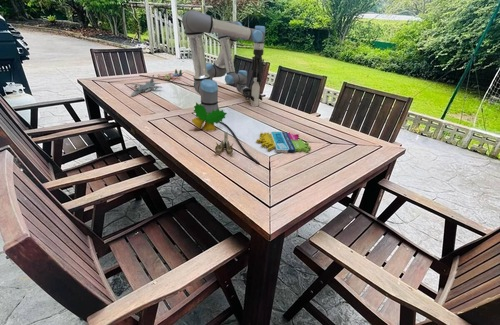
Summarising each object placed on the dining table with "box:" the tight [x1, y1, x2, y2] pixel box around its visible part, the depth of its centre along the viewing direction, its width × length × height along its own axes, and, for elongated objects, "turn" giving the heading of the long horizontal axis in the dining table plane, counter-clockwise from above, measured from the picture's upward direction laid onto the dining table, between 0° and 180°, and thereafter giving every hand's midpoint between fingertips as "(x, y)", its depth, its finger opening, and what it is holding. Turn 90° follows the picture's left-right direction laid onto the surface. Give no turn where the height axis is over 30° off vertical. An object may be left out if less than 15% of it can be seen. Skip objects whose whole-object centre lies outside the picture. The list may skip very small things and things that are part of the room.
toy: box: [156, 69, 183, 81], centre depth 280 cm, size 28×7×30 cm
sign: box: [256, 131, 312, 154], centre depth 152 cm, size 26×2×30 cm
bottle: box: [250, 81, 261, 107], centre depth 210 cm, size 6×6×21 cm
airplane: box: [128, 74, 161, 97], centre depth 228 cm, size 38×31×10 cm
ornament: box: [191, 102, 228, 132], centre depth 162 cm, size 21×8×15 cm, turn 105°
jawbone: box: [214, 131, 234, 156], centre depth 136 cm, size 9×15×10 cm
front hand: (256, 80), depth 205 cm, fingers open, 6 cm apart
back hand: (257, 99), depth 208 cm, fingers closed on bottle, 7 cm apart
